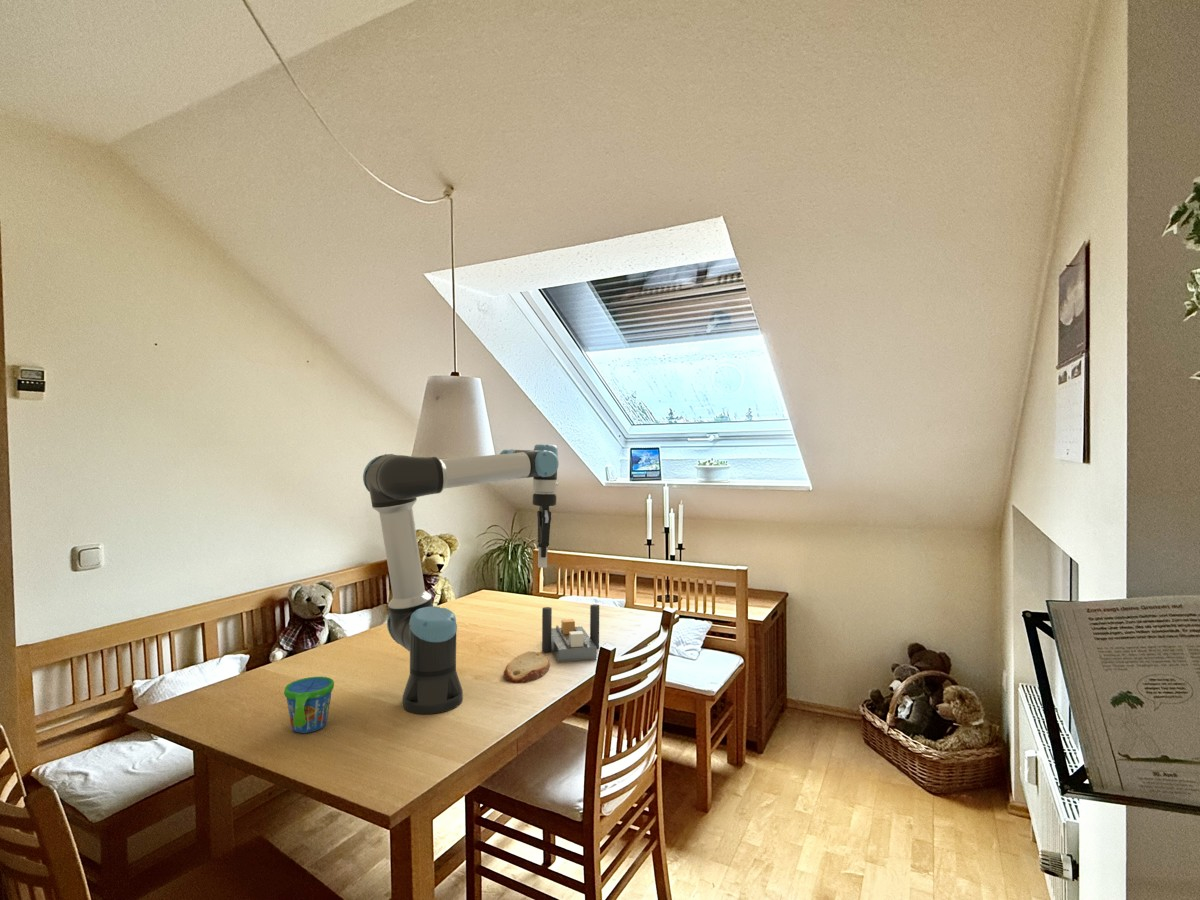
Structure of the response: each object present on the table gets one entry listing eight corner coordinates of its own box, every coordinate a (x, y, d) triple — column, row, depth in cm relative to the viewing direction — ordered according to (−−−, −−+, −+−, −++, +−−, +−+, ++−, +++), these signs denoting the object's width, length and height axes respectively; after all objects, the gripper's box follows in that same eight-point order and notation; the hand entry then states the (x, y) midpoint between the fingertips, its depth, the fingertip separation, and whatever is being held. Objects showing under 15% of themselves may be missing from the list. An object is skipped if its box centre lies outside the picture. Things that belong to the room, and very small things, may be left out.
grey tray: (596, 659, 191) (596, 643, 191) (558, 662, 188) (558, 646, 188) (581, 637, 213) (581, 623, 212) (547, 640, 210) (547, 625, 210)
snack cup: (300, 713, 152) (301, 672, 152) (344, 712, 152) (344, 671, 152) (270, 743, 136) (270, 698, 136) (318, 742, 137) (319, 697, 137)
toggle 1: (574, 633, 204) (574, 621, 204) (562, 634, 203) (563, 622, 203) (572, 630, 207) (573, 619, 207) (561, 631, 206) (561, 619, 206)
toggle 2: (583, 646, 191) (583, 633, 191) (570, 647, 190) (571, 634, 190) (581, 643, 194) (581, 630, 194) (569, 644, 193) (569, 631, 193)
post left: (552, 652, 197) (552, 609, 197) (542, 653, 197) (543, 609, 196) (550, 649, 200) (550, 606, 200) (541, 650, 200) (541, 607, 199)
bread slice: (538, 656, 195) (538, 644, 195) (567, 673, 180) (567, 661, 180) (485, 667, 185) (486, 655, 185) (512, 687, 170) (512, 673, 170)
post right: (600, 648, 201) (600, 606, 201) (591, 649, 201) (591, 607, 200) (597, 645, 204) (598, 604, 204) (589, 646, 203) (589, 604, 203)
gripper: (559, 494, 189) (557, 570, 189) (553, 491, 202) (550, 563, 201) (535, 494, 187) (533, 571, 187) (530, 491, 200) (528, 563, 200)
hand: (542, 567), depth 194 cm, fingers closed
